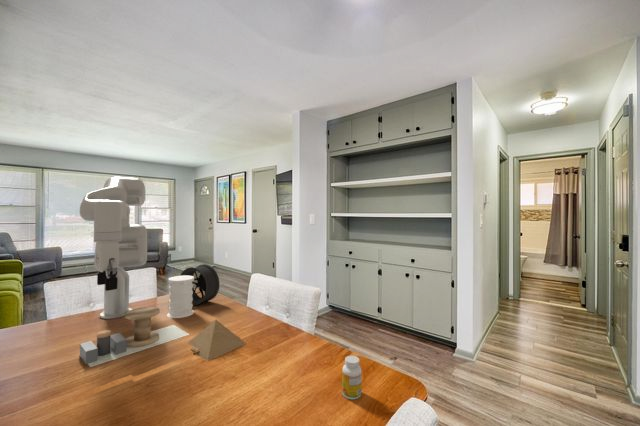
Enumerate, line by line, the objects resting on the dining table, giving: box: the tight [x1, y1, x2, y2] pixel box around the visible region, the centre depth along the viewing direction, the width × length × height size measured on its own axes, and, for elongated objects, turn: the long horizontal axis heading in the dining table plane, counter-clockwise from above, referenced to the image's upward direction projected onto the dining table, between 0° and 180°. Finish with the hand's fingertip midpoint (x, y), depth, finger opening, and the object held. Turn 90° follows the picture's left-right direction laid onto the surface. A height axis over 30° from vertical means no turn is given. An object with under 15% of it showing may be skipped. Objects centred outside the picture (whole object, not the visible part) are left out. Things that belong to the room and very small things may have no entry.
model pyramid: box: [187, 319, 247, 362], centre depth 105 cm, size 17×17×10 cm
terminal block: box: [79, 332, 127, 365], centre depth 95 cm, size 8×11×4 cm
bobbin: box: [124, 306, 161, 348], centre depth 105 cm, size 11×11×11 cm
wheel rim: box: [179, 263, 220, 306], centre depth 152 cm, size 20×9×20 cm, turn 67°
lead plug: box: [96, 329, 112, 356], centre depth 95 cm, size 4×4×7 cm
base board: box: [87, 324, 190, 368], centre depth 103 cm, size 14×31×1 cm, turn 141°
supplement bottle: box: [341, 355, 363, 400], centre depth 79 cm, size 5×5×10 cm
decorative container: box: [166, 275, 195, 319], centre depth 133 cm, size 12×12×18 cm
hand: (107, 286), depth 96 cm, fingers open, 9 cm apart
